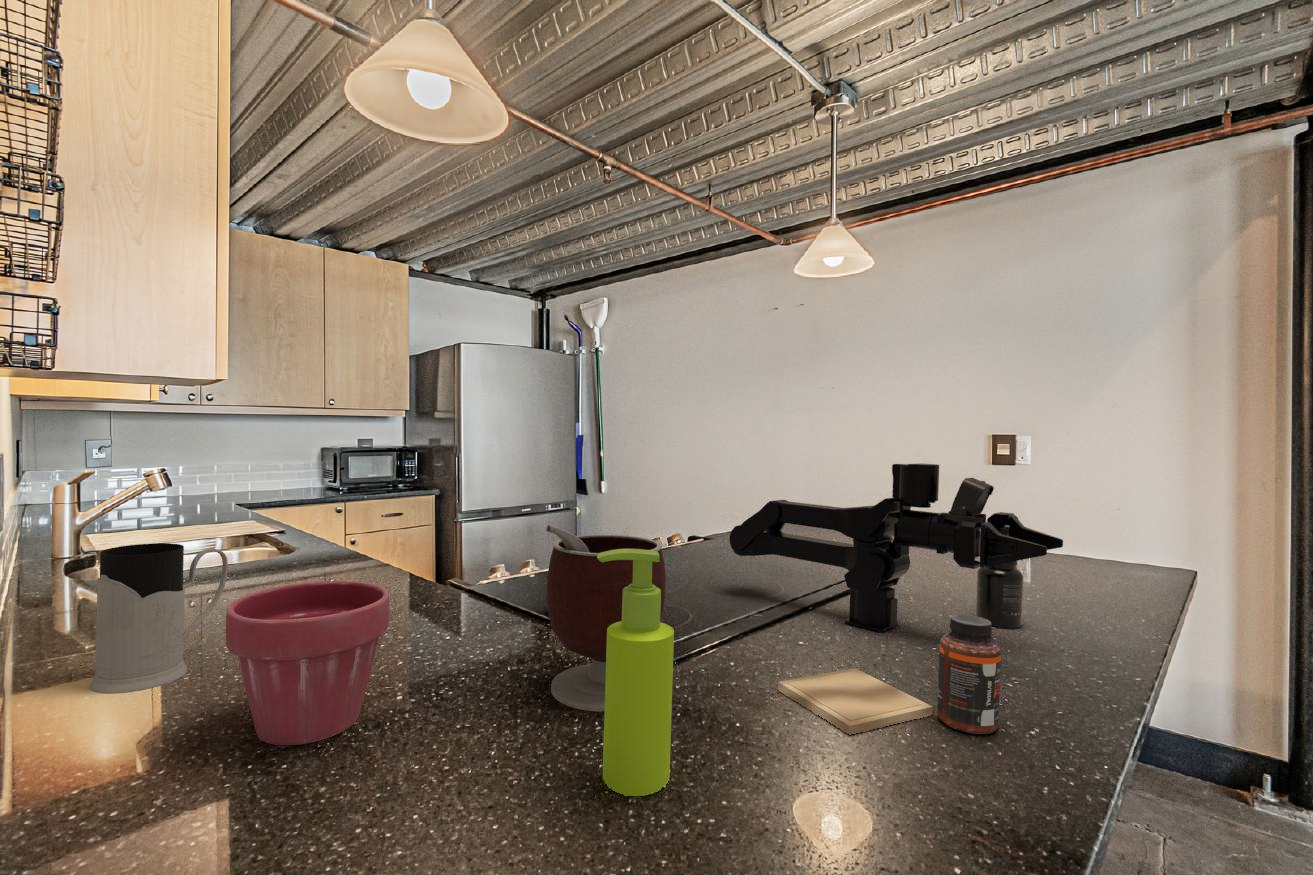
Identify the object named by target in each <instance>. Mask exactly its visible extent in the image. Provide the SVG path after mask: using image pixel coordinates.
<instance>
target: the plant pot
mask: <svg viewBox="0 0 1313 875" xmlns="http://www.w3.org/2000/svg"><path fill="white" fill-rule="evenodd" d="M389 621H390V594H389V591H388V590H387V588H385V587H383V586H380V585H378V584H374V583H371V582H370V583H369V582H363V581H354V580H352V581H351V580H325V581H324V580H323V581H311V582H310V581H308V582H299V583H293V584H292V583H291V584H287V585H286V584H285V585H281V586H280V585H279V586H276V587H275V586H274V587H271V588H267V589H262V590H259V591H255V592H251V593H248V594H246V595H244V596H241V597H240V598H238V599H236V600H234V601H233V602H231V603H230V604H229V605H228V606H227V609H226V616H225V645H226V648H227V651H229V652H230V653H232V654H233V655H235V656H237V658H238V663H239V668H240V672H241V677H242V682H243V686H244V691H245V695H246V699H247V702H248V706H249V710H250V713H251V717H252V721H253V725H254V729H255V733H256V735H257V738H258V739H260V740H261V741H262V742H265V743H267V744H271V745H275V746H276V745H277V746H296V745H297V746H298V745H304V744H310V743H314V742H315V743H316V742H319V741H321V740H326V739H328V738H331V737H333V736H336V735H338V734H340V733H342V732H344V731H346V730H347V729H349V728H350V727H352V726H353V725H354V724H355V723H356V722H357V721H358V719H359V716H360V713H361V710H362V705H363V703H364V699H365V695H366V692H367V688H368V683H369V680H370V676H371V672H372V668H373V663H374V660H375V656H376V652H377V646H378V642H379V639H380V638H379V637H382V635H384V634H385V633H386V632H387V630H388V628H389V626H390V625H389V624H390V623H389Z"/></svg>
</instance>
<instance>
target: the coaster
mask: <svg viewBox="0 0 1313 875" xmlns="http://www.w3.org/2000/svg"><path fill="white" fill-rule="evenodd" d="M777 691H778V692H780V693H782V694H784V695H785V696H786V697H788V698H789V699H791V700H793V701H794V702H796V703H797V702H798V703H797V704H798V705H800V704H801V705H800V706H802V707H804V706H805V707H806V708H805V707H804V708H805V709H807V710H808V711H810V710H811V711H812V712H811V711H810V712H811V713H813V714H814V715H817V716H818V715H819V716H820V717H819V716H818V717H819V718H821V717H822V718H823V720H824V719H826V720H827V721H828V722H827V721H826V720H825V721H826V722H827V723H829V722H830V723H832V724H833V725H832V724H831V725H832V726H834V725H835V726H836V727H835V726H834V727H835V728H837V729H838V728H840V729H841V730H842V732H843V731H844V732H843V733H845V732H846V733H847V734H846V733H845V734H846V735H848V734H849V735H851V734H855V733H858V732H863V733H867V732H871V731H874V730H873V729H875V730H878V729H877V728H880V729H883V727H884V728H886V727H885V726H888V727H890V726H889V725H892V726H894V725H893V724H896V725H898V724H897V723H900V724H903V723H902V722H904V723H906V722H905V721H908V722H910V721H909V720H912V721H914V720H913V719H917V720H920V718H921V719H924V718H928V716H929V717H932V716H931V715H933V716H934V714H933V712H934V711H933V710H934V709H933V708H934V707H933V705H930V704H928V703H927V702H924V701H922V700H920V699H918V698H916V697H915V696H912V695H910V694H908V693H906V692H905V691H902V690H900V689H898V688H896V687H894V686H892V685H889V684H888V683H886V682H884V681H881V680H879V679H877V678H876V677H874V676H872V675H870V674H868V673H865V672H864V671H861V670H859V669H857V668H855V667H854V668H847V669H841V670H837V671H831V672H825V673H820V674H815V675H814V674H813V675H809V676H803V677H798V678H791V679H786V680H782V681H778V682H777ZM923 717H924V718H923ZM822 718H821V719H822ZM830 723H829V724H830ZM840 729H839V730H840ZM841 730H840V731H841ZM870 730H871V731H870ZM849 735H848V736H849ZM855 735H856V734H855ZM851 736H852V735H851Z"/></svg>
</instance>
